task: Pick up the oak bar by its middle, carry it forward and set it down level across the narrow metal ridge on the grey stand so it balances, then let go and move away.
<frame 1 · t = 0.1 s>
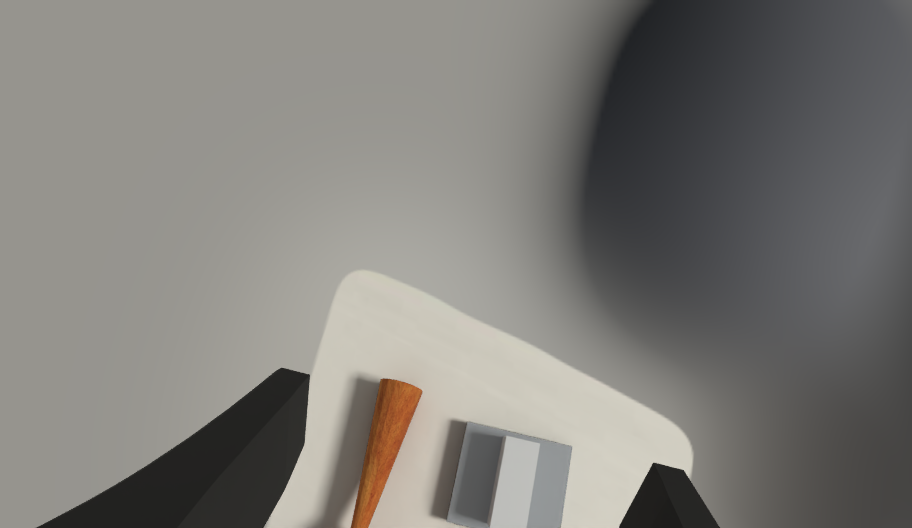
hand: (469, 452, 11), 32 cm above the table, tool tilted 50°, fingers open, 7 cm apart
balance stand: (509, 482, 41), on the table
kendama: (364, 521, 40), on the table
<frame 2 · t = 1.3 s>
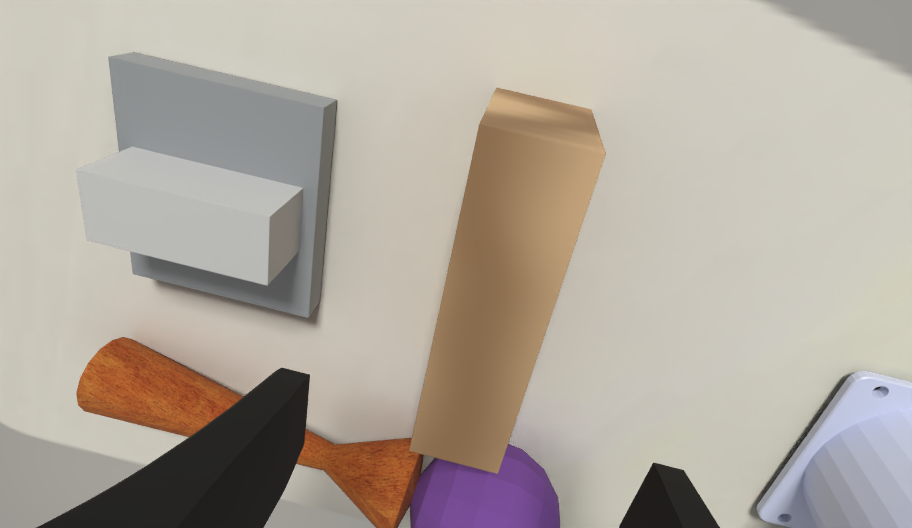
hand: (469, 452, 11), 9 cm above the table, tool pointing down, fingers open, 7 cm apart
balance stand: (235, 188, 20), on the table
kendama: (343, 411, 25), on the table
oak bar: (503, 250, 20), on the table
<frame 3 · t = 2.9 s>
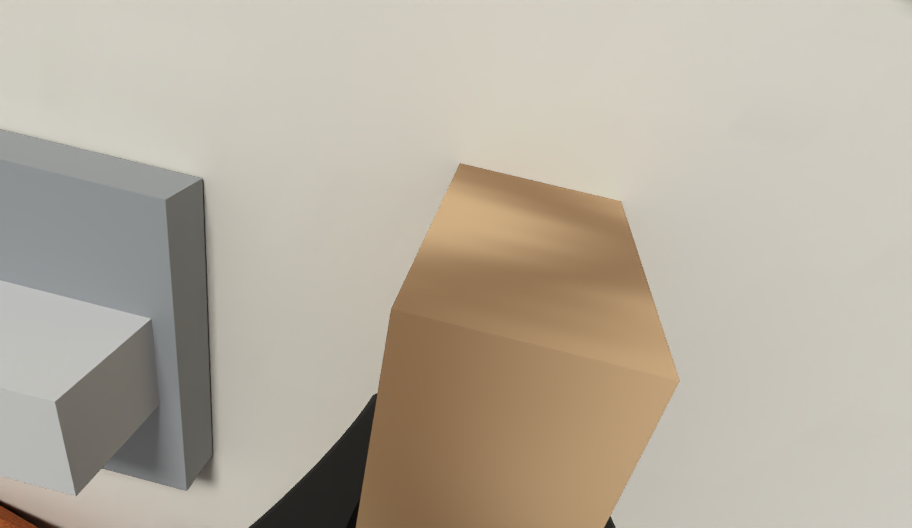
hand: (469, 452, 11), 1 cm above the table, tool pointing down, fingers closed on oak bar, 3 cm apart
balance stand: (67, 301, 13), on the table
oak bar: (477, 403, 13), on the table, touching gripper
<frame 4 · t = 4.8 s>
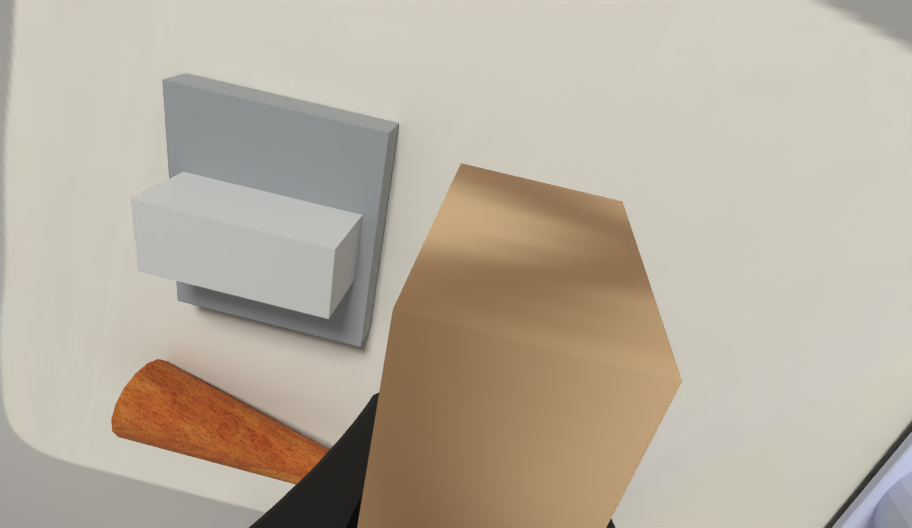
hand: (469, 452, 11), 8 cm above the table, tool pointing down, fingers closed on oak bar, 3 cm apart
balance stand: (286, 212, 19), on the table
kendama: (382, 438, 24), on the table
oak bar: (477, 403, 13), point 7 cm above the table, touching gripper
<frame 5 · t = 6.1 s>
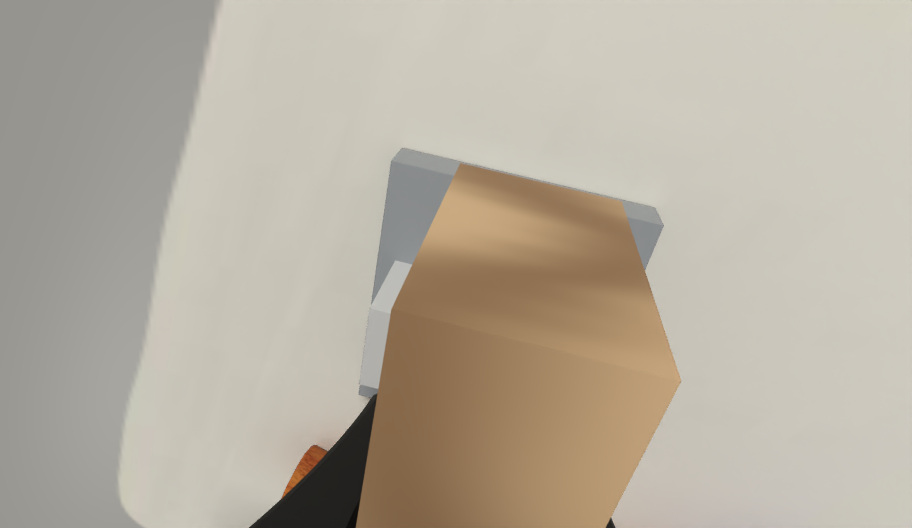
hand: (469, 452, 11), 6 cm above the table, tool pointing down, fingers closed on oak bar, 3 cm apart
balance stand: (494, 299, 17), on the table
oak bar: (477, 403, 13), point 5 cm above the table, touching gripper
when the fingers open (6 cm above the table, at t = 7.0 s): oak bar stays where it is, resting on balance stand.
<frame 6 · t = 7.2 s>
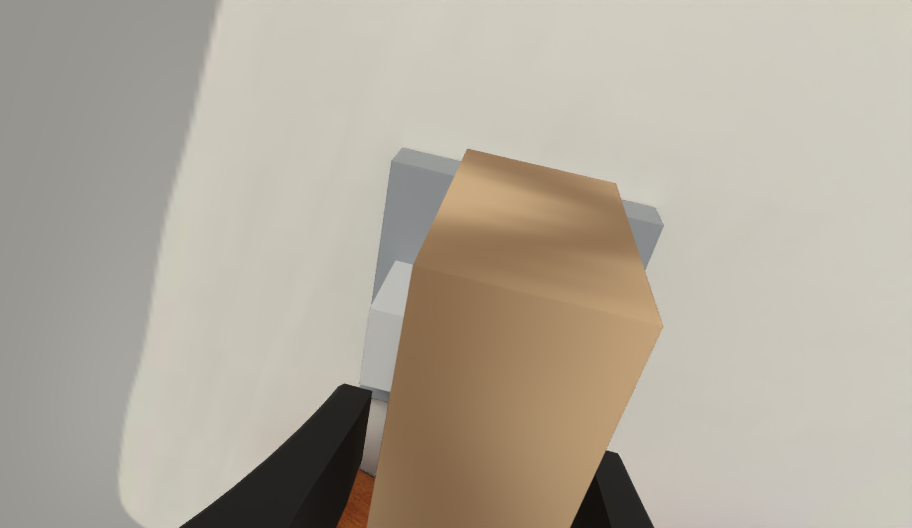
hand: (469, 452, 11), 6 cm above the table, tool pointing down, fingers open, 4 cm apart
balance stand: (494, 299, 17), on the table
oak bar: (482, 376, 13), point 4 cm above the table, touching balance stand
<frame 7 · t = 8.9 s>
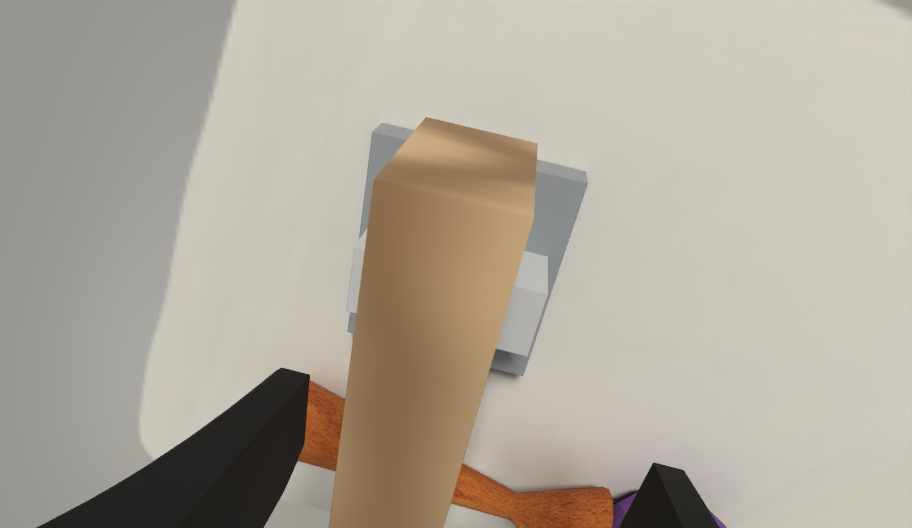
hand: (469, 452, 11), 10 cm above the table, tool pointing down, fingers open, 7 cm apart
balance stand: (459, 250, 20), on the table
kendama: (510, 455, 25), on the table
oak bar: (443, 302, 17), point 4 cm above the table, touching balance stand
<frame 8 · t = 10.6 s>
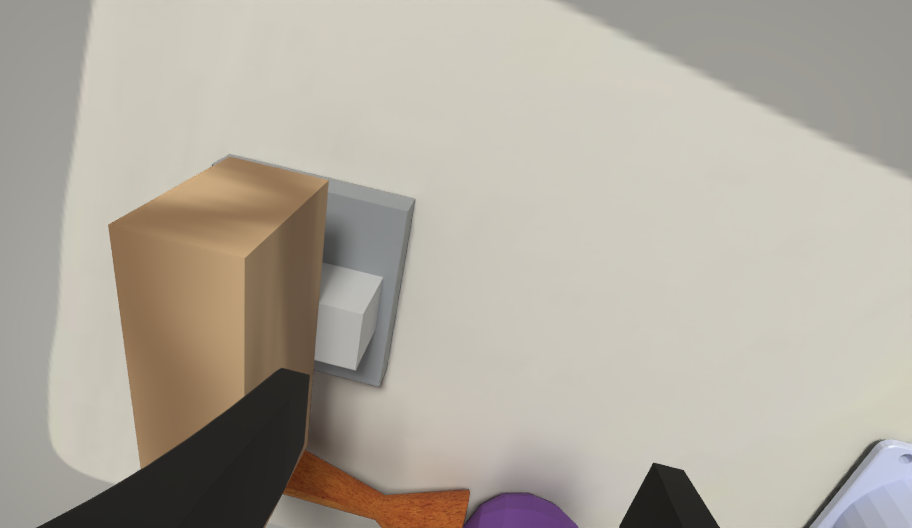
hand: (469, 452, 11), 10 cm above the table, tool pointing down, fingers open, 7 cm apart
balance stand: (314, 270, 22), on the table
kendama: (388, 459, 27), on the table
oak bar: (273, 321, 18), point 4 cm above the table, touching balance stand
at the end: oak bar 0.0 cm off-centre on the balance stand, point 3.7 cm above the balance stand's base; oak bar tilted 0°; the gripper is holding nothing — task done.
